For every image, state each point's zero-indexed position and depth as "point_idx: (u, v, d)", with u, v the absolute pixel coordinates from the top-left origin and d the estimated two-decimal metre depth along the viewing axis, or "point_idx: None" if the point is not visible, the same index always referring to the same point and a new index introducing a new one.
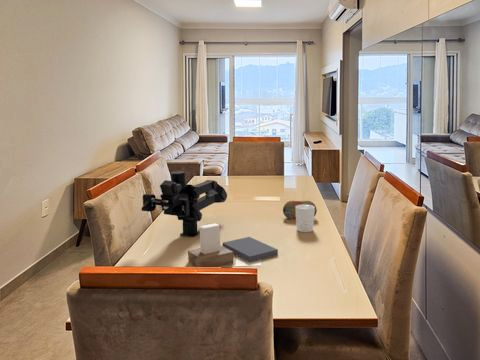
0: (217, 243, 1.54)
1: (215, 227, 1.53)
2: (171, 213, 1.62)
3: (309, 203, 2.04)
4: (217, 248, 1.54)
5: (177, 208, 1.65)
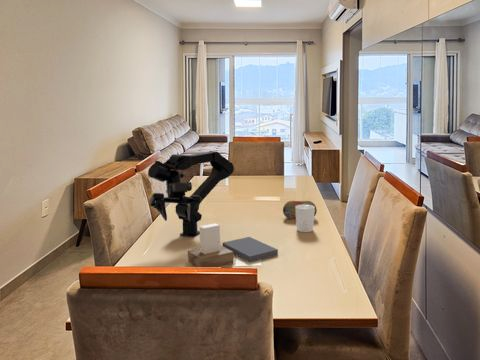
0: (217, 243, 1.54)
1: (215, 227, 1.53)
2: None
3: (309, 203, 2.04)
4: (217, 248, 1.54)
5: None
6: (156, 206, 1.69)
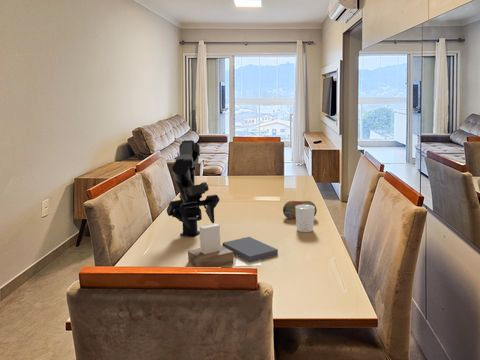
0: (217, 243, 1.54)
1: (215, 227, 1.53)
2: None
3: (309, 203, 2.04)
4: (217, 248, 1.54)
5: None
6: (175, 215, 1.58)
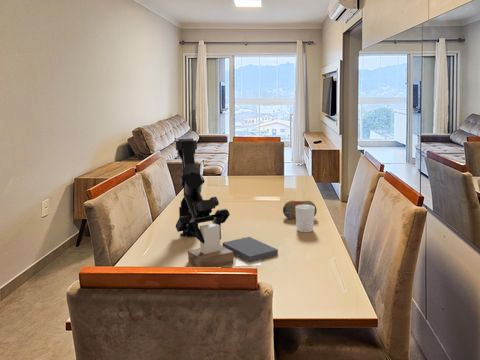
0: (217, 243, 1.54)
1: (215, 227, 1.53)
2: None
3: (309, 203, 2.04)
4: (217, 248, 1.54)
5: None
6: (188, 230, 1.54)
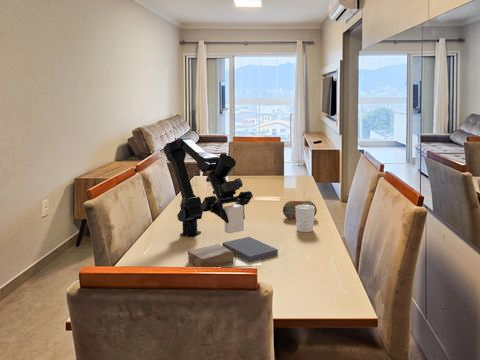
0: (241, 223, 1.59)
1: (239, 207, 1.58)
2: None
3: (309, 203, 2.04)
4: (241, 228, 1.59)
5: None
6: (213, 210, 1.59)
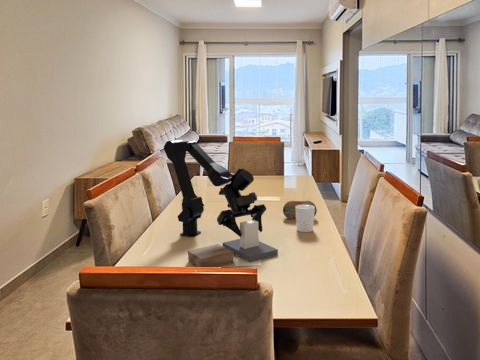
0: (256, 238, 1.65)
1: (254, 223, 1.63)
2: None
3: (309, 203, 2.04)
4: (256, 243, 1.65)
5: None
6: (226, 224, 1.63)
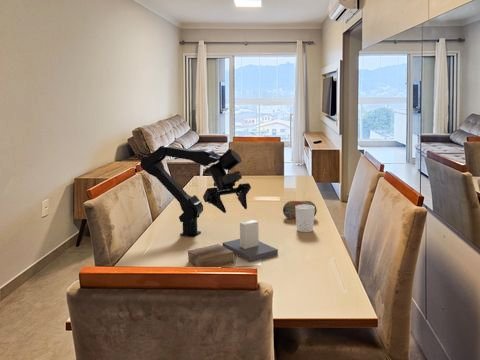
0: (256, 238, 1.65)
1: (254, 223, 1.63)
2: None
3: (309, 203, 2.04)
4: (256, 243, 1.65)
5: None
6: (211, 201, 1.70)
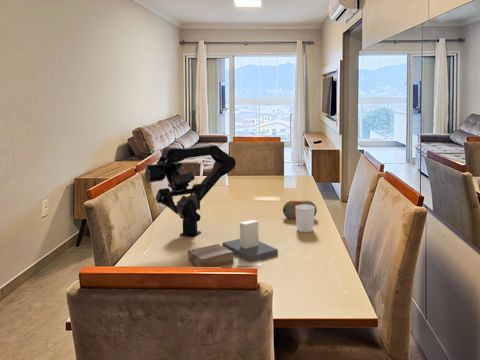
0: (256, 238, 1.65)
1: (254, 223, 1.63)
2: None
3: (309, 203, 2.04)
4: (256, 243, 1.65)
5: None
6: (163, 202, 1.70)
